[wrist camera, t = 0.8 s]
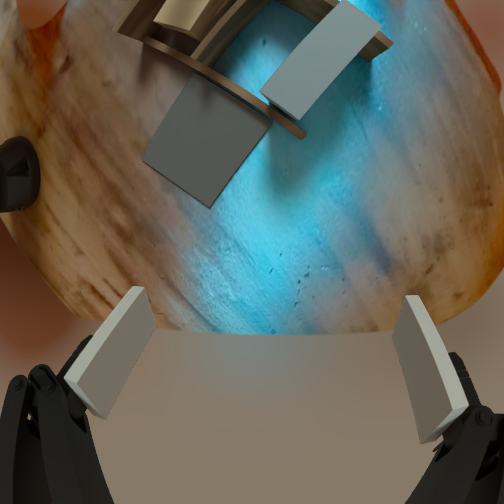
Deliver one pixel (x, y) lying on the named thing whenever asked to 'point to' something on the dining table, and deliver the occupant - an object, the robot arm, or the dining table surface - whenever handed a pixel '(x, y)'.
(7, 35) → the dining table surface
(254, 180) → the dining table surface
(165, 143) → the mat
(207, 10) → the offcut upper
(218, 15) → the offcut lower
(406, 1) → the dining table surface
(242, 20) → the rack
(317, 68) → the grey rectangular block
